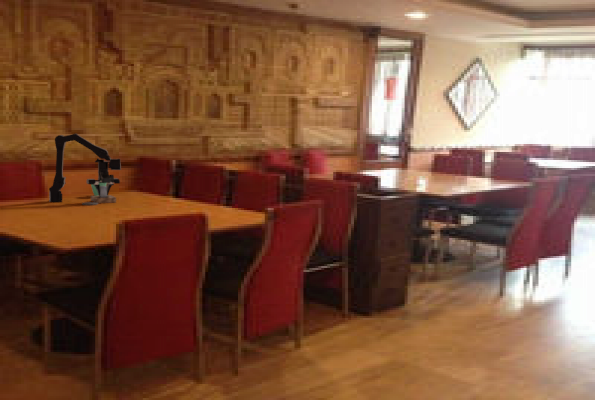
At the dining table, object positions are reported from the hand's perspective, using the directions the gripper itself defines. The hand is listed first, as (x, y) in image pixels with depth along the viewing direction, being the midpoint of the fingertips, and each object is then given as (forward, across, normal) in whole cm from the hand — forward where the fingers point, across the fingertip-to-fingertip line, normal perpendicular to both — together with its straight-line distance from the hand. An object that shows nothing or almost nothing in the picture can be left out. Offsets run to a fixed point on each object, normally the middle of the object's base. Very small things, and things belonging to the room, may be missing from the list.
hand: (103, 195), depth 383 cm
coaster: (+4, -10, -8) cm, 13 cm away
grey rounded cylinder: (+3, 0, 0) cm, 3 cm away
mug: (+4, +4, +25) cm, 26 cm away
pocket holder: (+4, 0, 0) cm, 4 cm away
